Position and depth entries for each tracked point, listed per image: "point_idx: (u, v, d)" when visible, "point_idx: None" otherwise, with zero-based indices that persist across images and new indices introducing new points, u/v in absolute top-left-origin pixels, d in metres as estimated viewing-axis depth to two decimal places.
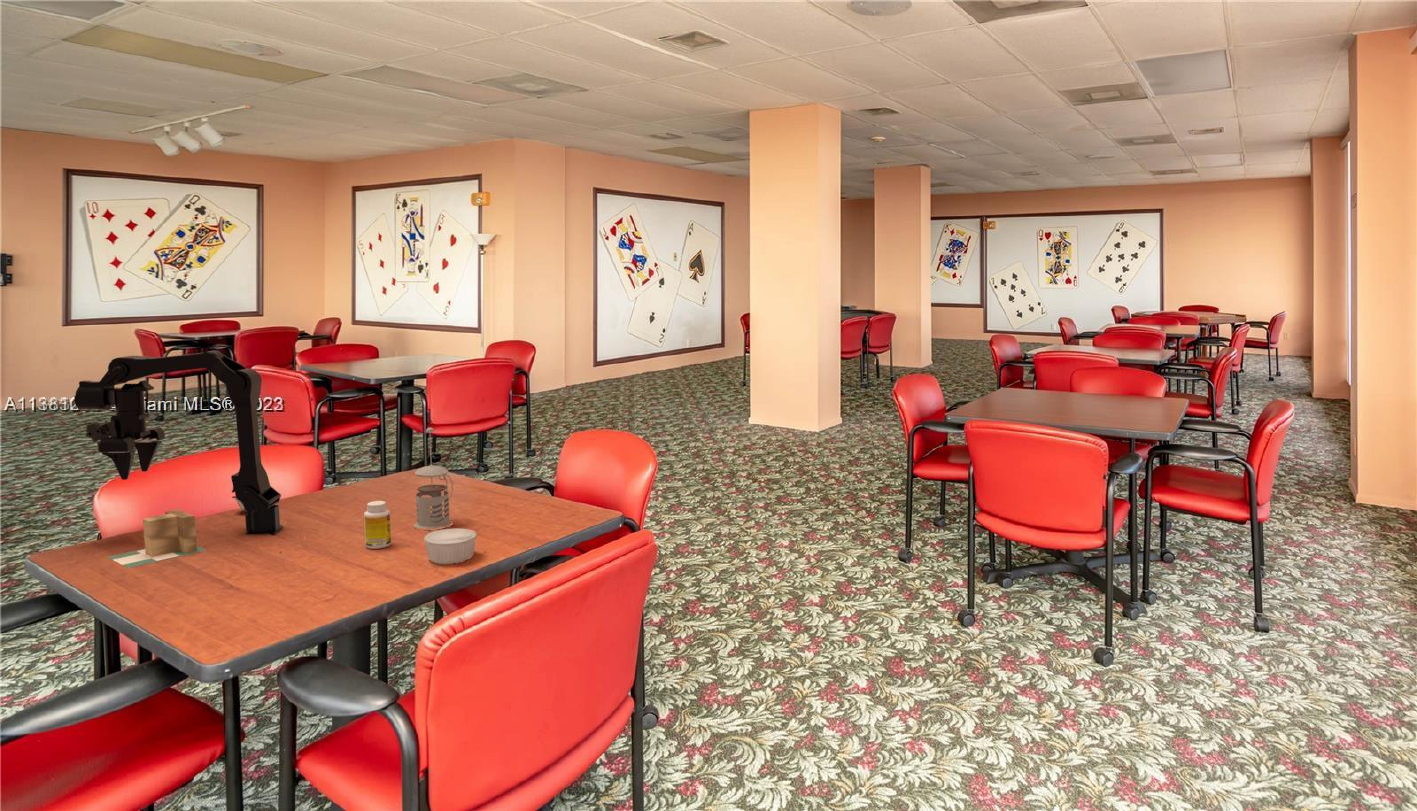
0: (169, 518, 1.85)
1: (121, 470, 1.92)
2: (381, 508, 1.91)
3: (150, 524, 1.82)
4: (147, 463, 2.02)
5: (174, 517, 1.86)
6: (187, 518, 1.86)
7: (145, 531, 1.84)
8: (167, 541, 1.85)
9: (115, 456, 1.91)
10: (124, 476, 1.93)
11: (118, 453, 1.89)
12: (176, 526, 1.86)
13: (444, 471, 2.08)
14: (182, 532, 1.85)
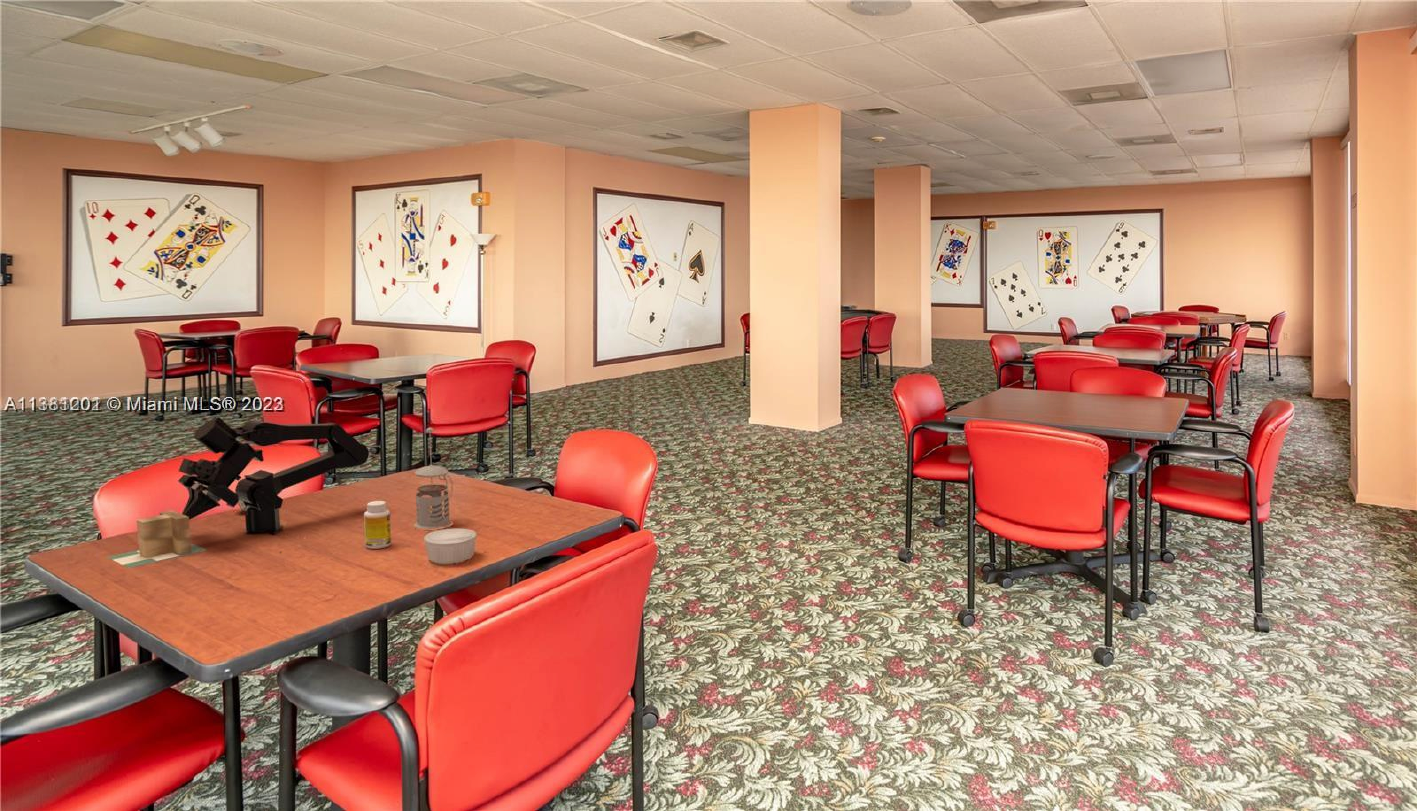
0: (163, 519, 1.84)
1: (190, 513, 1.89)
2: (381, 508, 1.91)
3: (143, 525, 1.81)
4: None
5: (168, 518, 1.85)
6: (181, 519, 1.85)
7: (139, 532, 1.83)
8: (161, 542, 1.84)
9: (200, 499, 1.90)
10: None
11: (212, 500, 1.90)
12: (170, 527, 1.85)
13: (444, 471, 2.08)
14: (177, 534, 1.84)
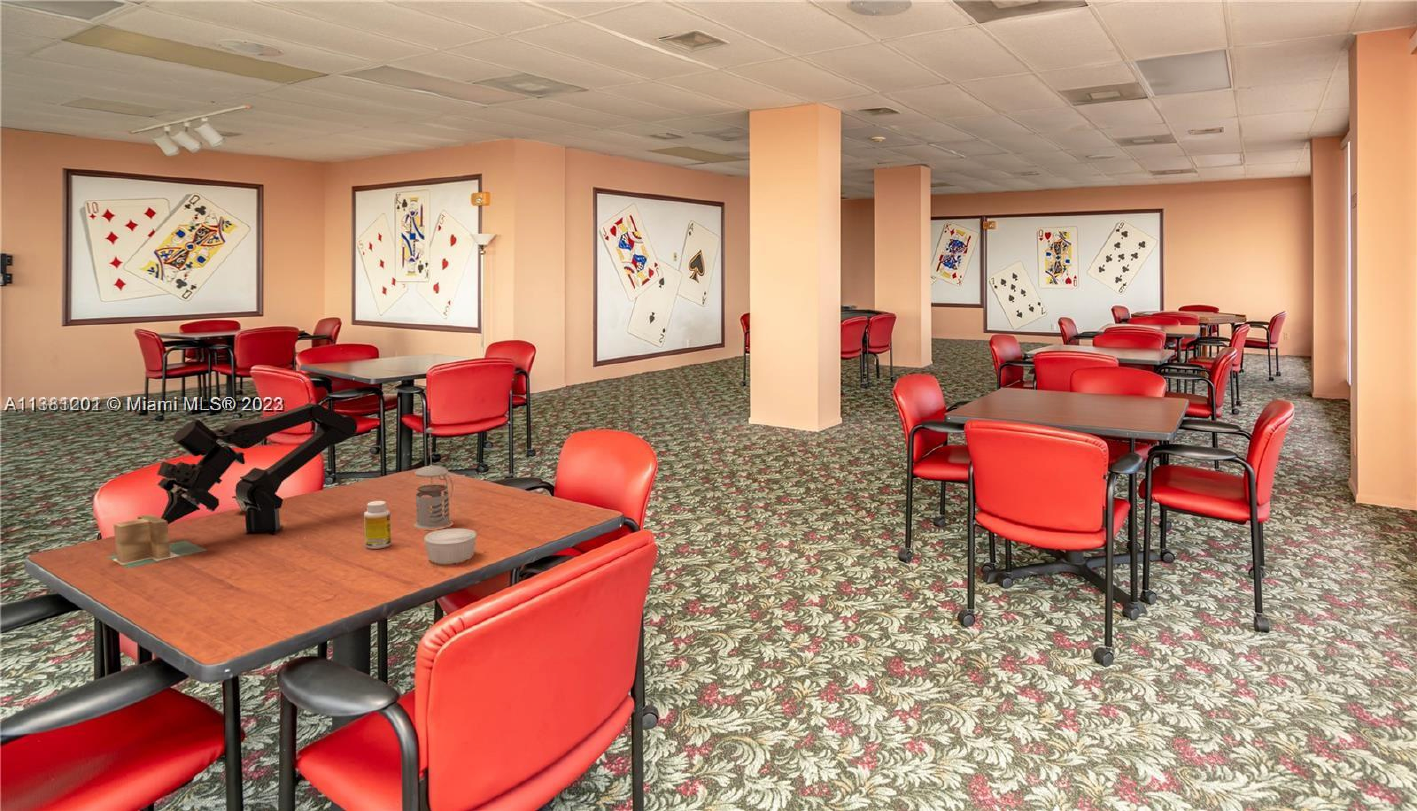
0: (141, 523, 1.81)
1: (169, 517, 1.86)
2: (381, 508, 1.91)
3: (121, 529, 1.78)
4: None
5: (146, 522, 1.82)
6: (160, 523, 1.81)
7: (116, 537, 1.79)
8: (139, 546, 1.81)
9: (180, 503, 1.86)
10: None
11: (192, 504, 1.87)
12: (148, 532, 1.82)
13: (444, 471, 2.08)
14: (155, 538, 1.81)
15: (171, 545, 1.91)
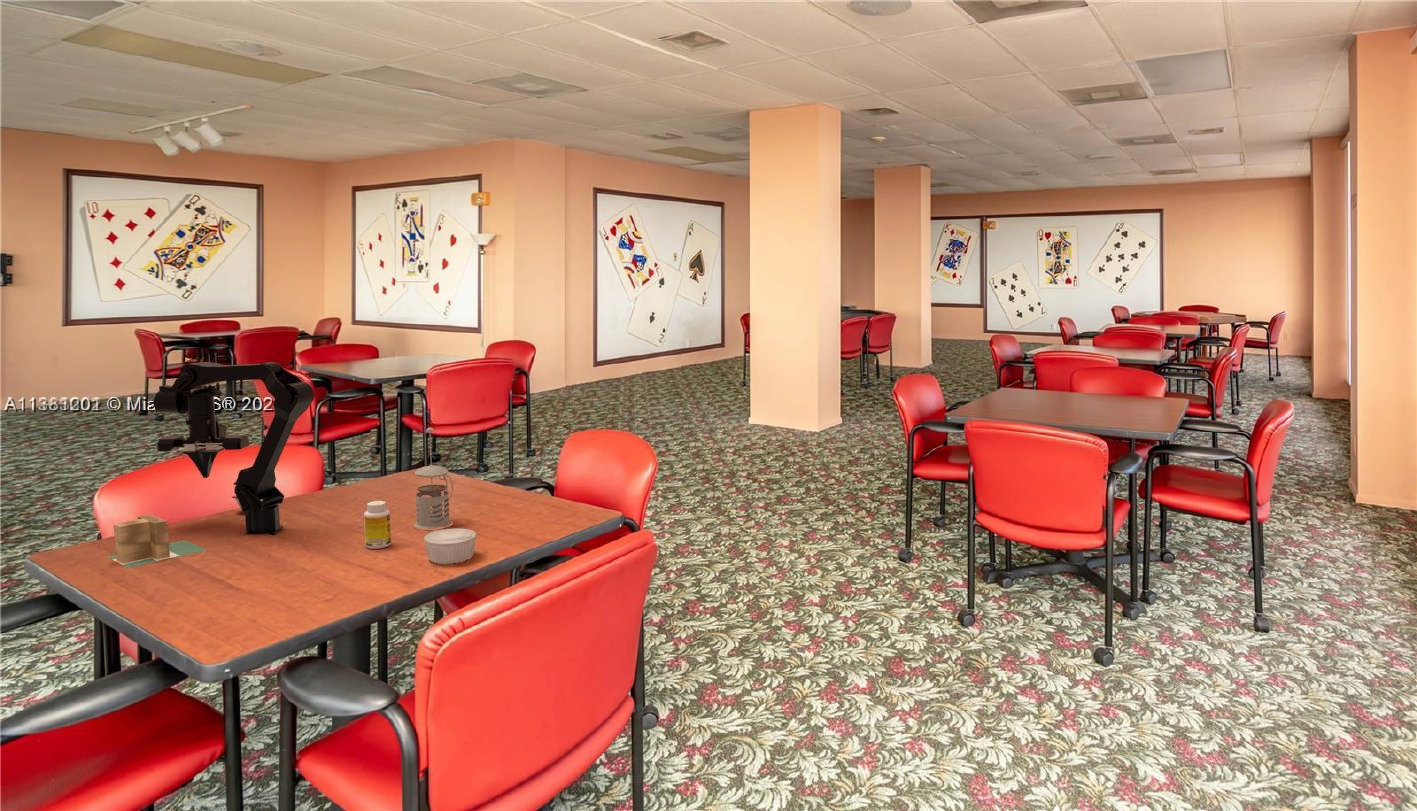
0: (141, 523, 1.81)
1: None
2: (381, 508, 1.91)
3: (120, 530, 1.78)
4: None
5: (146, 522, 1.82)
6: (159, 523, 1.81)
7: (116, 537, 1.79)
8: (139, 547, 1.81)
9: None
10: None
11: None
12: (148, 532, 1.82)
13: (444, 471, 2.08)
14: (154, 538, 1.81)
15: (171, 545, 1.91)
